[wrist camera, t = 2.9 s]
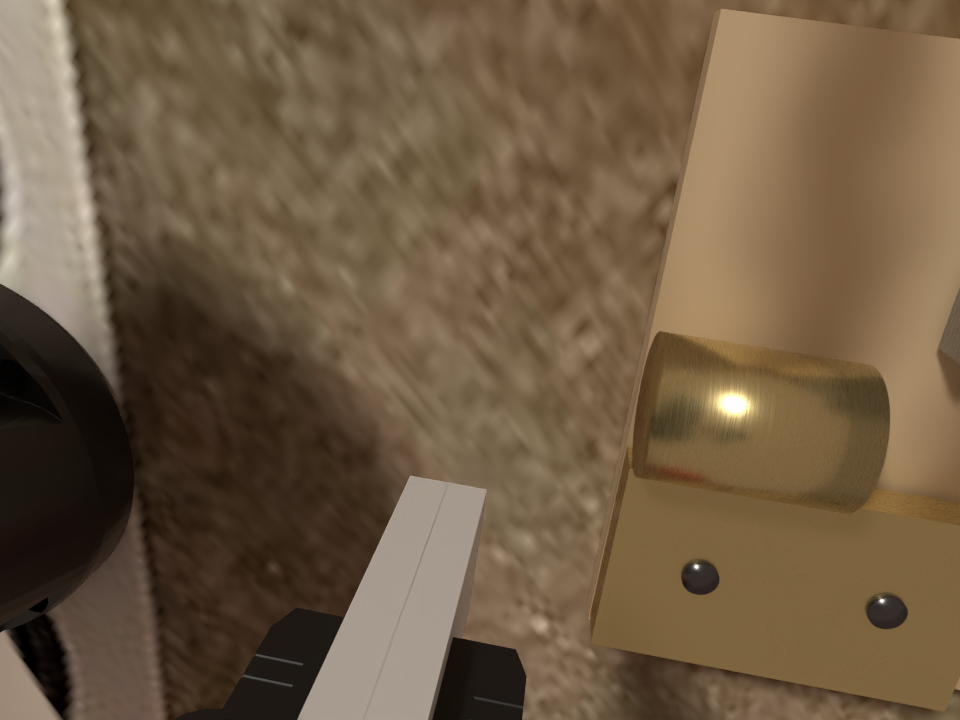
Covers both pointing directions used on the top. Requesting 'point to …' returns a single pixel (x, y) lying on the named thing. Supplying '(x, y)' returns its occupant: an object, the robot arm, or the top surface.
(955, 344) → the fixed leaf
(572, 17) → the top surface
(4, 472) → the robot arm
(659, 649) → the loose leaf
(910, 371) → the board
